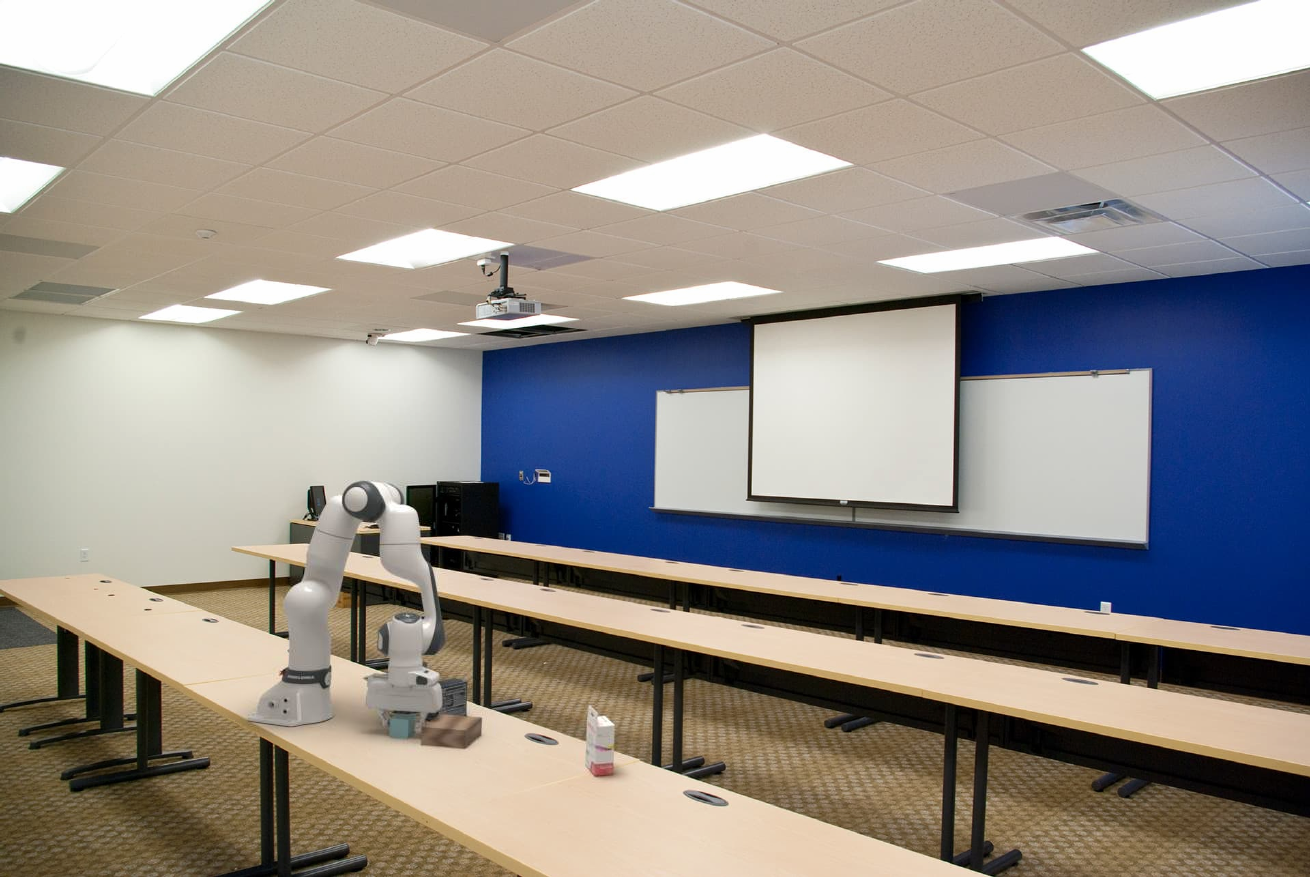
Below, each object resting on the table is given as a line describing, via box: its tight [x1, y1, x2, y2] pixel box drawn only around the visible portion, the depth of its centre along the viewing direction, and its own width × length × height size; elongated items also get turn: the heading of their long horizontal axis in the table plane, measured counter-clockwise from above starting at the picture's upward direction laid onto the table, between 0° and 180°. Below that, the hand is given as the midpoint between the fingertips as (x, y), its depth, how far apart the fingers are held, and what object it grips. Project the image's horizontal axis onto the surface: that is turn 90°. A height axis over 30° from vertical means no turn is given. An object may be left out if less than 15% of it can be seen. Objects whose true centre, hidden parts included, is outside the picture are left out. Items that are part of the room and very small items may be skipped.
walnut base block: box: [420, 714, 483, 750], centre depth 226 cm, size 12×12×5 cm
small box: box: [424, 677, 468, 723], centre depth 245 cm, size 11×6×10 cm, turn 141°
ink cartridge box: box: [584, 705, 616, 777], centre depth 207 cm, size 9×5×15 cm, turn 21°
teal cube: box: [389, 714, 416, 740], centre depth 228 cm, size 5×5×5 cm
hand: (402, 727), depth 228 cm, fingers open, 8 cm apart
